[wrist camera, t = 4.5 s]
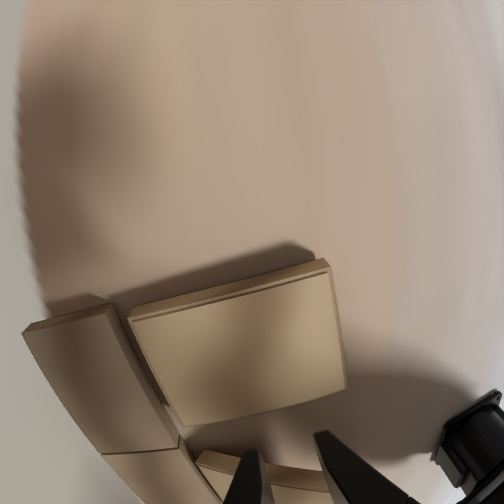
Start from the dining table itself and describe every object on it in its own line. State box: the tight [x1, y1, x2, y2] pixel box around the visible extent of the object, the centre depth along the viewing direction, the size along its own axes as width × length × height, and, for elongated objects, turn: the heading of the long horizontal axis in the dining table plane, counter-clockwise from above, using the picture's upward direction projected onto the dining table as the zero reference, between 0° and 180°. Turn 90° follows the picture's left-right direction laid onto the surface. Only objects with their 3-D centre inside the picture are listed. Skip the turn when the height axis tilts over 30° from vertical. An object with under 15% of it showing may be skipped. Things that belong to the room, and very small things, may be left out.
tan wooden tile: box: [22, 303, 223, 504], centre depth 16 cm, size 6×18×1 cm, turn 14°
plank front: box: [127, 258, 348, 428], centre depth 15 cm, size 9×7×1 cm
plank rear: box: [195, 449, 334, 504], centre depth 16 cm, size 9×7×1 cm
